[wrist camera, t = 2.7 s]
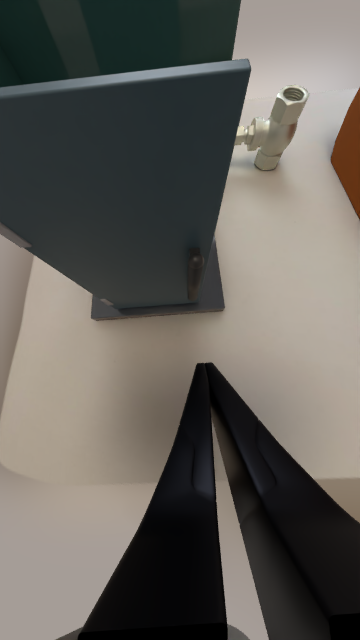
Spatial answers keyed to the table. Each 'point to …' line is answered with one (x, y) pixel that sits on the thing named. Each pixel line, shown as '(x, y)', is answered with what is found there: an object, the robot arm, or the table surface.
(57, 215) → the shower door
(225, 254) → the table surface
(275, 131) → the valve
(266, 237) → the table surface
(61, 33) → the shower stall
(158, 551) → the robot arm
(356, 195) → the alarm clock
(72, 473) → the table surface
